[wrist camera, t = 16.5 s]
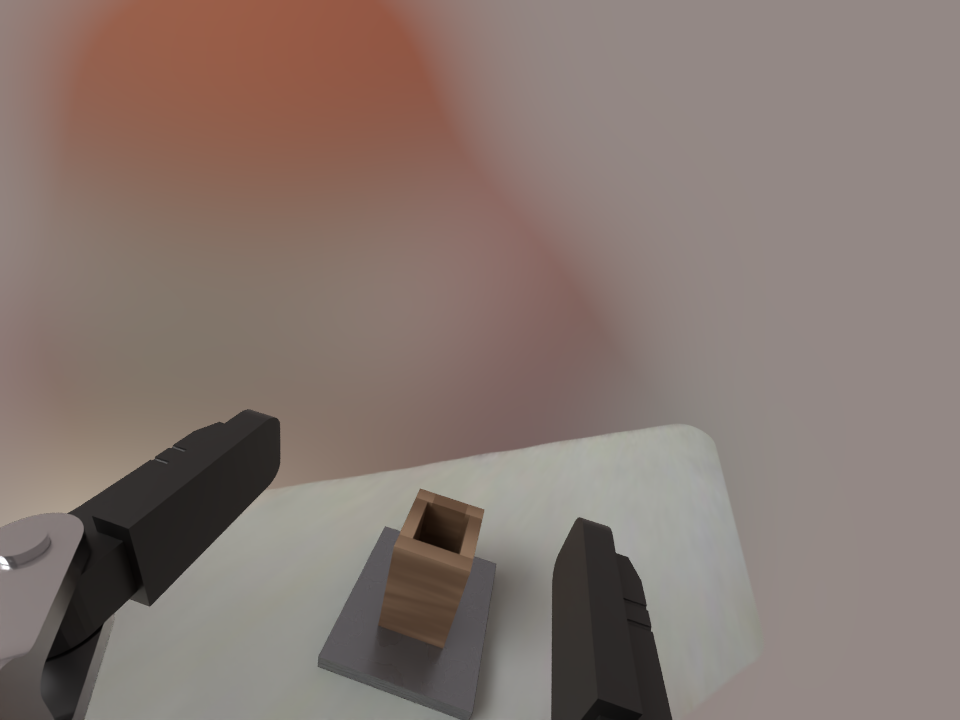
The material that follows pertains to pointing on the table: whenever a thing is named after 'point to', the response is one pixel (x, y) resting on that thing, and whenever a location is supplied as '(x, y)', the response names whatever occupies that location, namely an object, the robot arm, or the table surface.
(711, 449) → the table surface
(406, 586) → the sleeve
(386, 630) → the base plate
